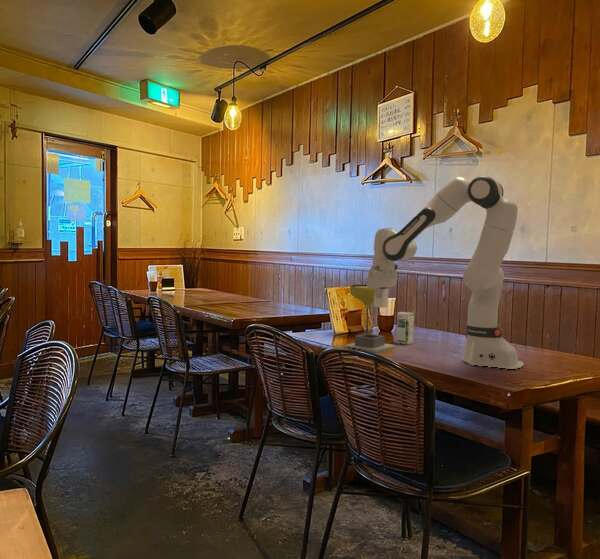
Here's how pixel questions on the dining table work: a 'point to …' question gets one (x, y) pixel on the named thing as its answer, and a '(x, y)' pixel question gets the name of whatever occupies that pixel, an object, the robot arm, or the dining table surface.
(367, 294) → the cocktail glass
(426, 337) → the dining table surface
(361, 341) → the socket
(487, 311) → the robot arm
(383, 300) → the plug
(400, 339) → the syrup box
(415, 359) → the dining table surface
